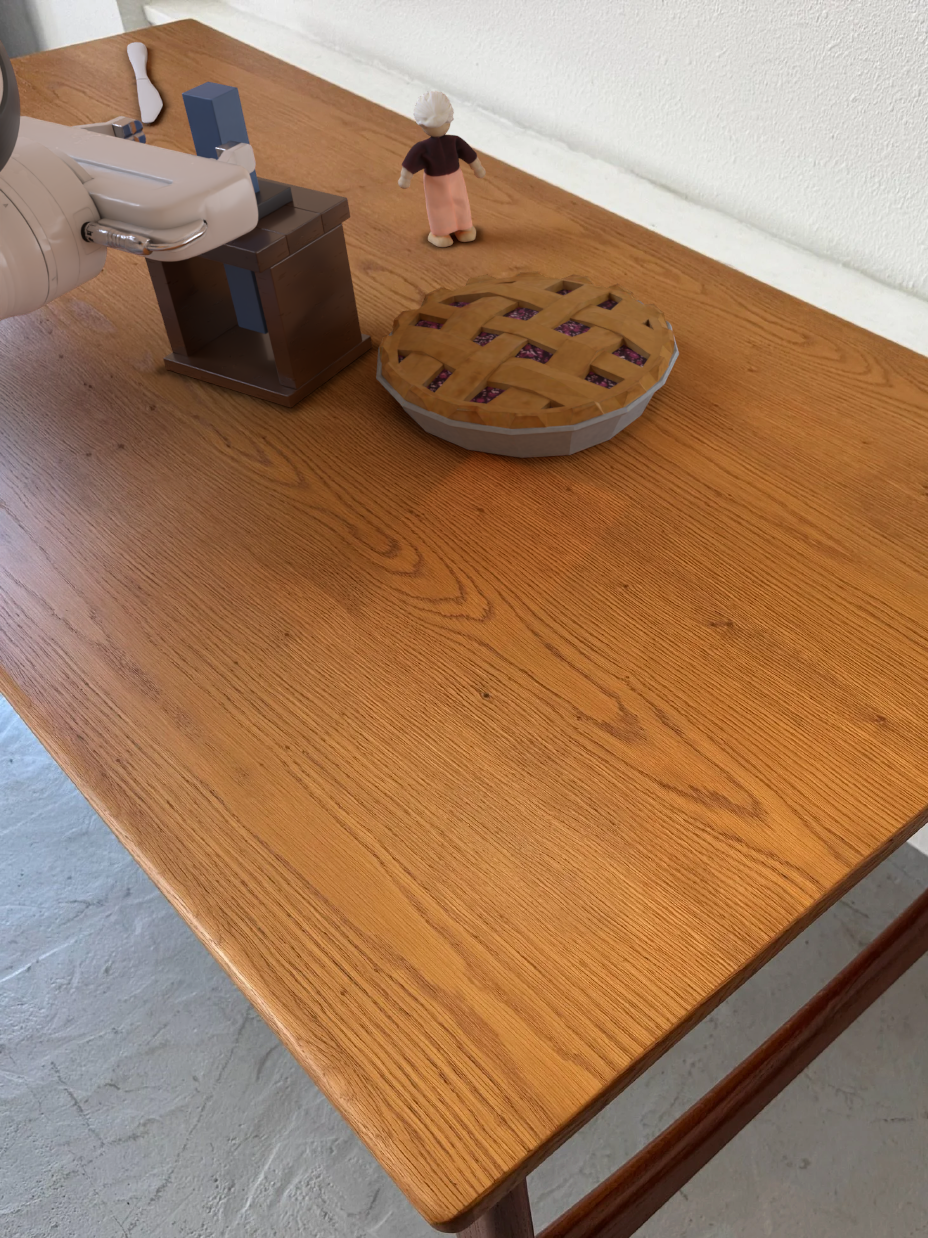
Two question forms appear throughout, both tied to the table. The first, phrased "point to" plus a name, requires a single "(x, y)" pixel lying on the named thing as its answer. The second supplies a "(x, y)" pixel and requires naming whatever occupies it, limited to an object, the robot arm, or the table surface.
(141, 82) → the butter knife
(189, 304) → the stand
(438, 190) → the grandmother figurine
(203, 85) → the peg
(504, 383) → the pie
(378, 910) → the table surface
